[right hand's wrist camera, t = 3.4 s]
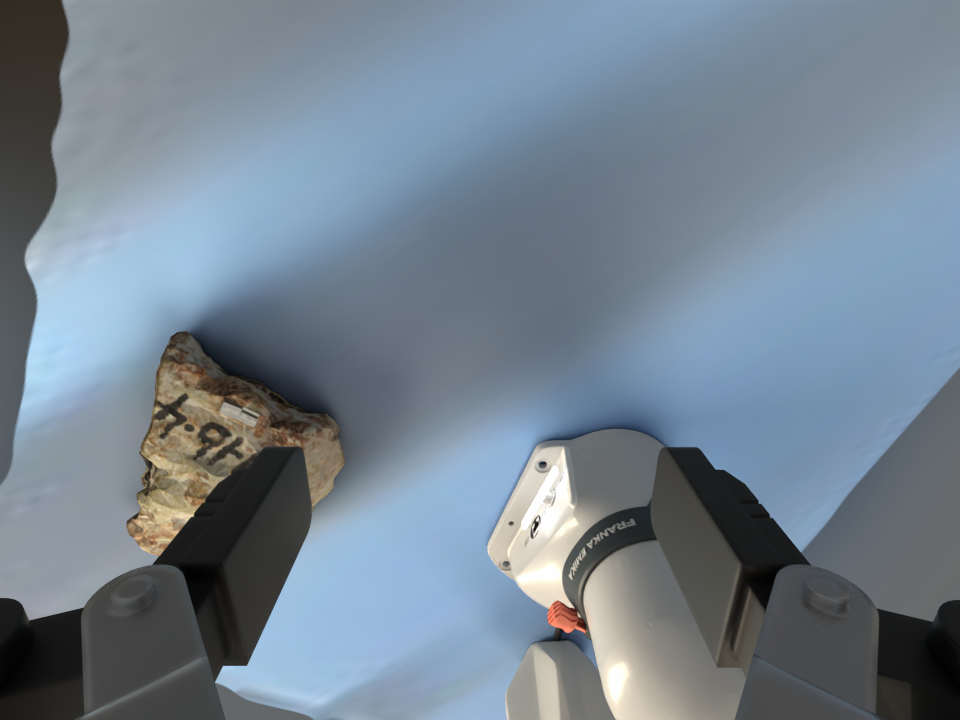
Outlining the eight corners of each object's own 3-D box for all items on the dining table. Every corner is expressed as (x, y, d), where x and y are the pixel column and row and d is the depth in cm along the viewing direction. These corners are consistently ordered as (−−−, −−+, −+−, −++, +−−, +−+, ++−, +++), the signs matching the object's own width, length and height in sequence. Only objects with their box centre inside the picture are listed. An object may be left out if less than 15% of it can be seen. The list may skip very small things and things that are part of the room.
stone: (360, 442, 45) (259, 628, 53) (373, 413, 51) (279, 585, 58) (148, 342, 42) (72, 556, 49) (186, 322, 47) (113, 518, 55)
